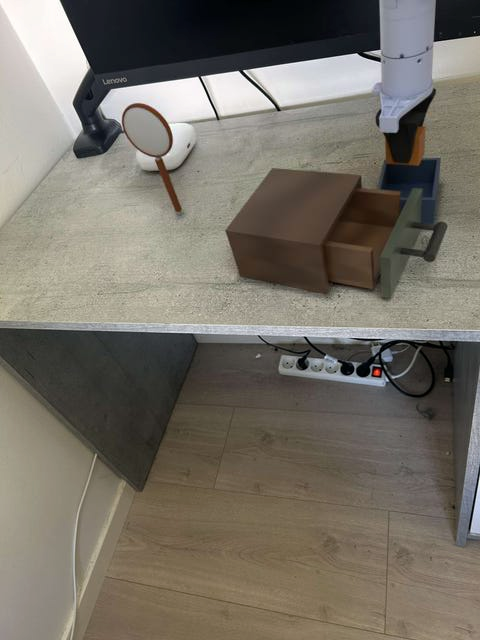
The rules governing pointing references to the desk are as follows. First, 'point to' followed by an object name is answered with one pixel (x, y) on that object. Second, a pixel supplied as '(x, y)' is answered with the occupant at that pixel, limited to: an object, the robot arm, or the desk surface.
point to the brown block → (417, 149)
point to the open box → (414, 183)
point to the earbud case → (180, 149)
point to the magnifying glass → (151, 139)
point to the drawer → (378, 239)
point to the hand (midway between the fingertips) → (405, 154)
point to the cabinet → (290, 227)
